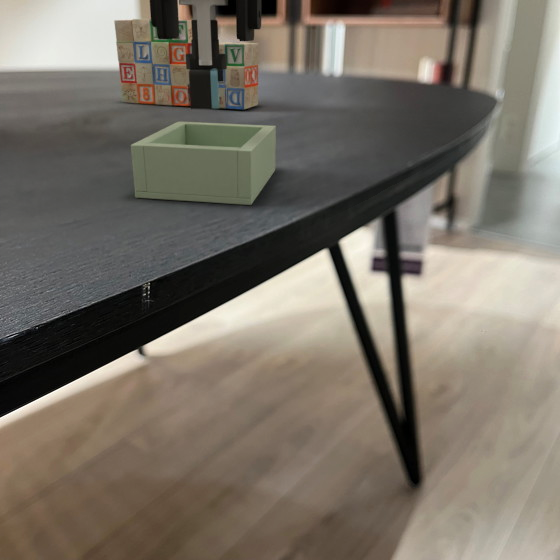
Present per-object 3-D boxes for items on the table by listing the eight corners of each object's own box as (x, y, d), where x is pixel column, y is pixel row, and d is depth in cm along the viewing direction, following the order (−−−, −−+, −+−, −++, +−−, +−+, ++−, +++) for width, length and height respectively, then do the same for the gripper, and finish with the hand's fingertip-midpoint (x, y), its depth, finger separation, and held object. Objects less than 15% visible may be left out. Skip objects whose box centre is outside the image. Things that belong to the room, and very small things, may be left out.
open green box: (135, 197, 43) (130, 144, 42) (180, 165, 53) (177, 121, 52) (251, 205, 42) (251, 150, 40) (275, 170, 52) (276, 125, 50)
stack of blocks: (259, 105, 91) (259, 21, 86) (244, 111, 85) (243, 20, 80) (141, 98, 97) (135, 18, 92) (121, 102, 92) (113, 18, 86)
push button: (177, 98, 48) (168, -37, 44) (241, 98, 48) (238, -36, 44) (170, 110, 42) (159, -47, 38) (243, 109, 42) (240, -46, 38)
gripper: (337, -255, 38) (324, 41, 45) (94, -244, 40) (119, 36, 48) (329, -316, 31) (314, 44, 39) (36, -299, 33) (76, 38, 41)
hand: (206, 37), depth 43 cm, fingers closed on push button, 5 cm apart
